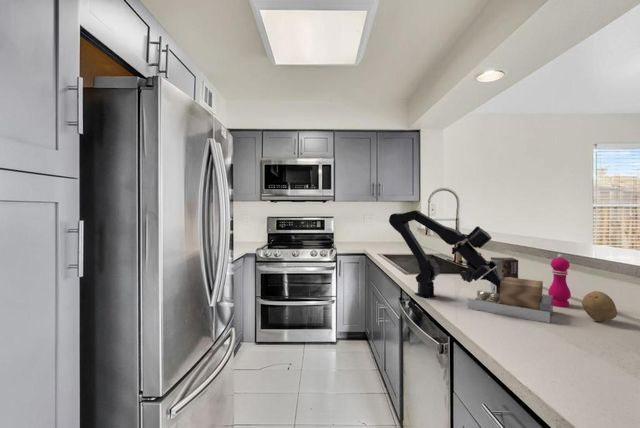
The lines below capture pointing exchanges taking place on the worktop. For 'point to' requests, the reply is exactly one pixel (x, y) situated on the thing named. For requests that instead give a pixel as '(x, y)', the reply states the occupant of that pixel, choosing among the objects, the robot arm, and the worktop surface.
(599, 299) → the potato
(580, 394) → the worktop surface
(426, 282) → the robot arm
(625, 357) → the worktop surface
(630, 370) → the worktop surface
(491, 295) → the track
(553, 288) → the pepper mill
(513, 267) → the coffee box
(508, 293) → the slab
